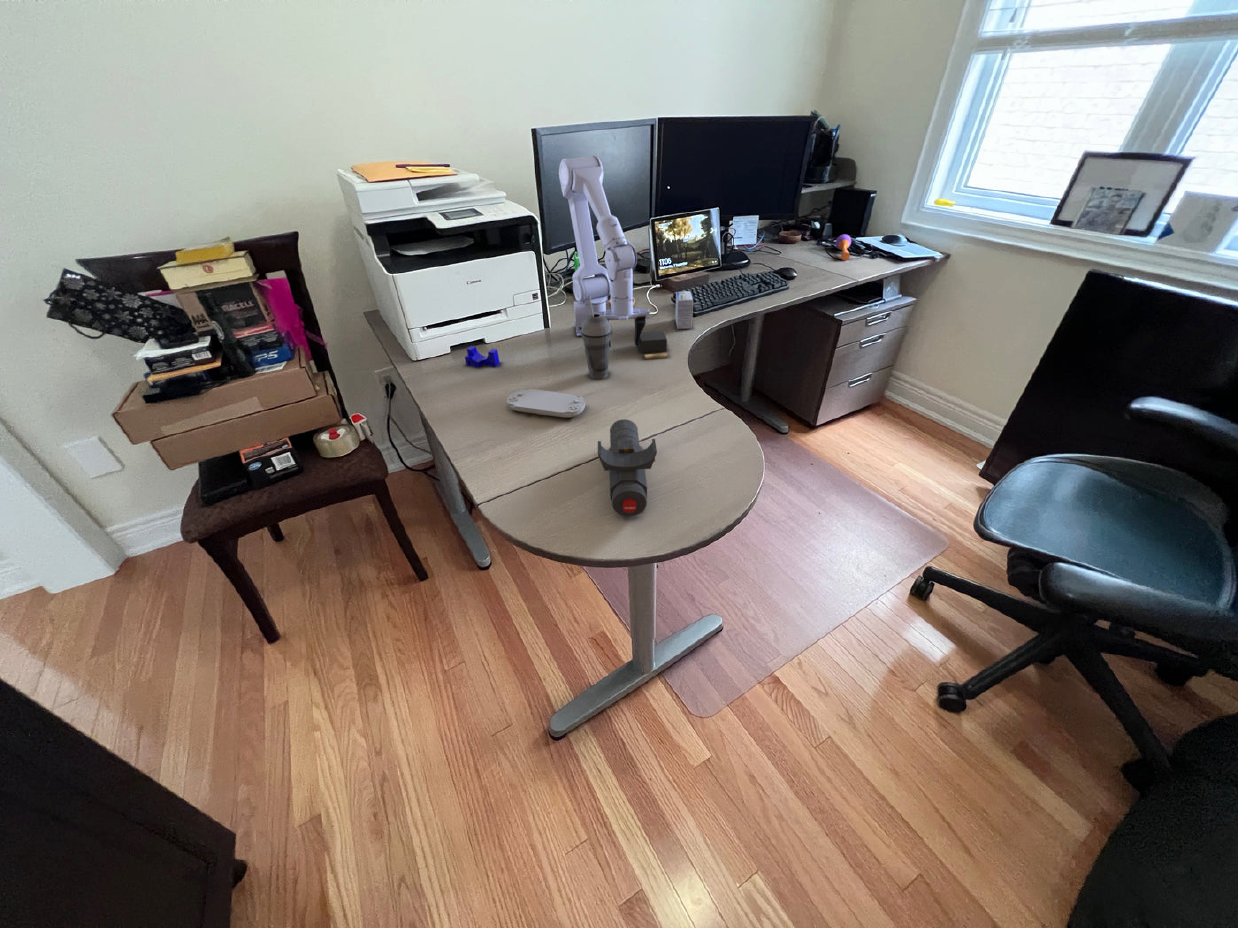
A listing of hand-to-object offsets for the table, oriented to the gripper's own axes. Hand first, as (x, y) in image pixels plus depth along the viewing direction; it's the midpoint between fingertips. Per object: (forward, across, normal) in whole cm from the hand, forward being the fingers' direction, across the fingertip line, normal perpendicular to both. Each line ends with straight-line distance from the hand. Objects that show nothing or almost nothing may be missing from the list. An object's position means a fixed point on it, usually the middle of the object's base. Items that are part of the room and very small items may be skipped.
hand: (622, 345), depth 135 cm
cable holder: (+2, -38, -3) cm, 38 cm away
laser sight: (+2, -6, -56) cm, 56 cm away
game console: (+2, -21, -28) cm, 35 cm away
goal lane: (+1, +8, 0) cm, 8 cm away
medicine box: (+2, +20, +15) cm, 25 cm away
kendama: (+2, +101, +78) cm, 127 cm away
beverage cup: (+2, -8, -14) cm, 16 cm away
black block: (+1, +8, 0) cm, 8 cm away
